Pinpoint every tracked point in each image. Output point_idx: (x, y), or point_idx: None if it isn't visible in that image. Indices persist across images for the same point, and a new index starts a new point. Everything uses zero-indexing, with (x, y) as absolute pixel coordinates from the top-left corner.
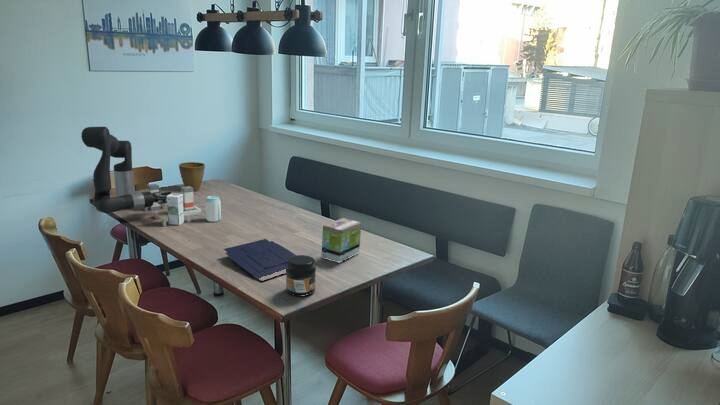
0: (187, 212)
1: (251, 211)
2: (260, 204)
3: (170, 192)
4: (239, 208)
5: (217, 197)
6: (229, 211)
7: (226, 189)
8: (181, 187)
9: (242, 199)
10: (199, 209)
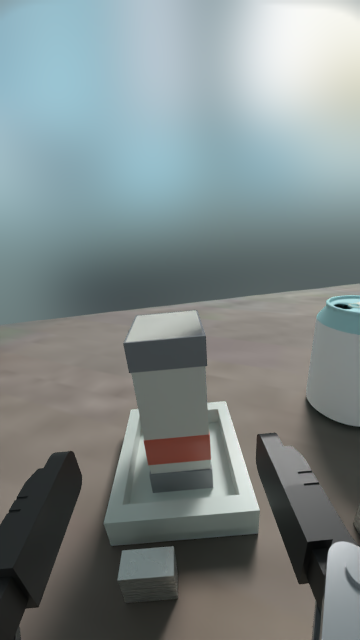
0: (246, 473)
1: (245, 327)
2: None
3: (70, 454)
4: (207, 336)
5: (350, 299)
6: (226, 353)
7: (39, 329)
8: (142, 341)
9: None
10: (223, 406)
